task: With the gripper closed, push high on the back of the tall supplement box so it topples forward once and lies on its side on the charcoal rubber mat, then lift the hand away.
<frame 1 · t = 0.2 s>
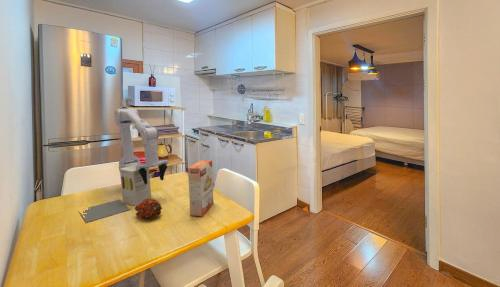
hand: (153, 181, 119), 10 cm above the table, tool pointing down, fingers open, 7 cm apart
supplement box: (137, 201, 123), on the table
cracker box: (203, 209, 112), on the table
reddish-brown bumpy oval: (148, 217, 106), on the table
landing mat: (104, 210, 113), on the table
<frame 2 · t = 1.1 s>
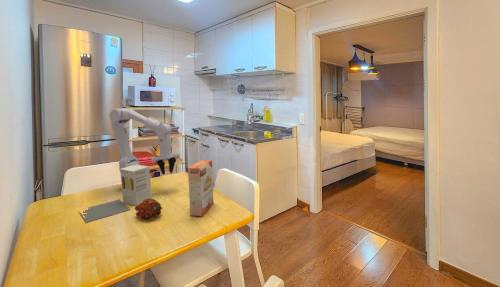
hand: (167, 173, 132), 10 cm above the table, tool pointing down, fingers open, 4 cm apart
nothing on the table moved.
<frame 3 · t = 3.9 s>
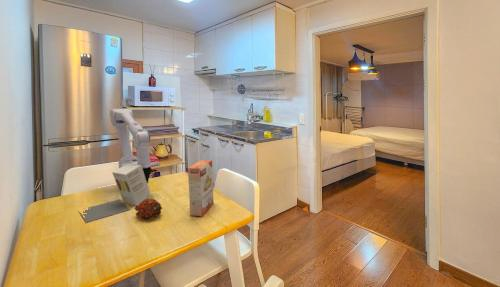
hand: (146, 183, 124), 8 cm above the table, tool pointing down, fingers closed
supplement box: (137, 199, 122), point 1 cm above the table, touching gripper
everything else where it was.
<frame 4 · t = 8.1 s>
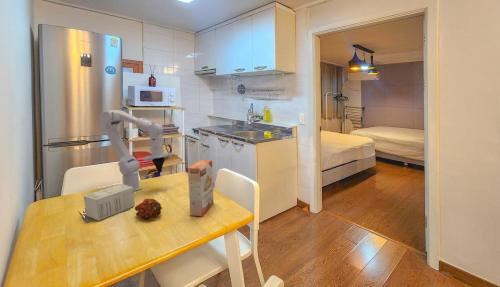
hand: (159, 172, 134), 10 cm above the table, tool pointing down, fingers closed
supplement box: (128, 194, 118), point 5 cm above the table, touching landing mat
everything else where it was.
at the end: supplement box tilted 90°; supplement box touching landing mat; supplement box inside the target area (2.3 cm from its centre), point 4.9 cm above the table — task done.
